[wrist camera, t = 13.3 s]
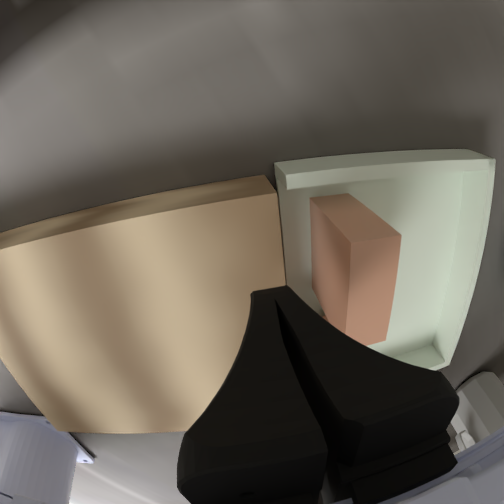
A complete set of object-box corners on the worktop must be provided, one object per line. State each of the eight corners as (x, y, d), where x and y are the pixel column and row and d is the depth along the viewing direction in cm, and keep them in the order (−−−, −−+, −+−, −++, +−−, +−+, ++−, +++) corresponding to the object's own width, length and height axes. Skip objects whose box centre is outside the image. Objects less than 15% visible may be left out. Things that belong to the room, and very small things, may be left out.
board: (66, 401, 20) (57, 430, 17) (-24, 240, 14) (-51, 264, 11) (285, 381, 21) (294, 414, 18) (264, 174, 14) (276, 192, 12)
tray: (293, 383, 21) (301, 411, 19) (273, 162, 14) (286, 174, 12) (433, 344, 22) (449, 364, 19) (466, 148, 15) (495, 159, 13)
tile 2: (343, 351, 13) (385, 340, 13) (351, 243, 10) (401, 235, 10) (311, 287, 17) (346, 281, 17) (309, 197, 15) (348, 193, 15)
